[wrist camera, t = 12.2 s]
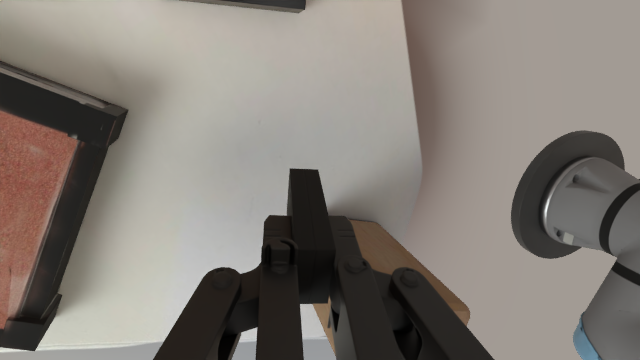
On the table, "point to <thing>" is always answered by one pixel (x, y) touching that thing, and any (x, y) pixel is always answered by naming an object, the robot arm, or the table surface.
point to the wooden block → (390, 268)
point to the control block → (261, 4)
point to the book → (44, 192)
